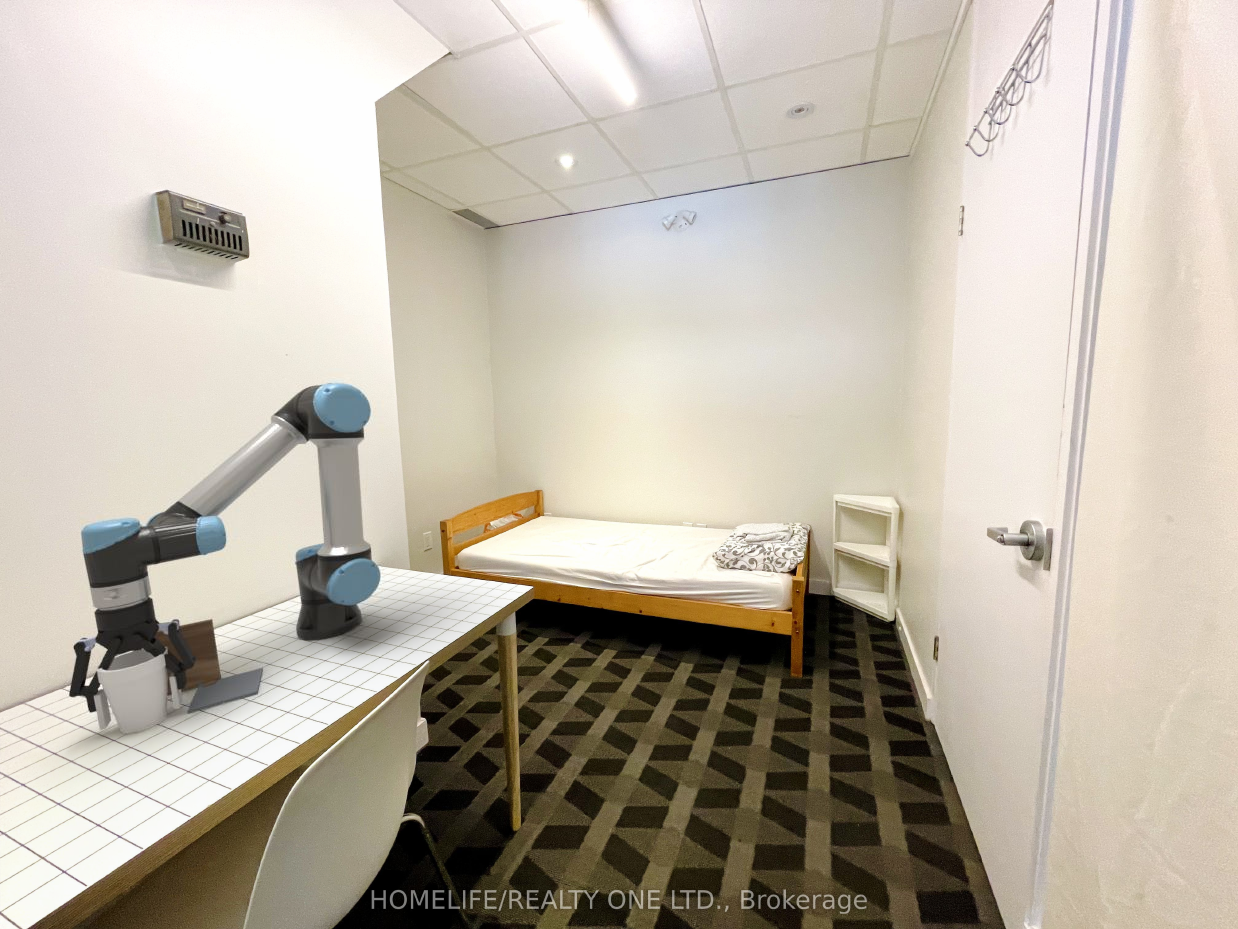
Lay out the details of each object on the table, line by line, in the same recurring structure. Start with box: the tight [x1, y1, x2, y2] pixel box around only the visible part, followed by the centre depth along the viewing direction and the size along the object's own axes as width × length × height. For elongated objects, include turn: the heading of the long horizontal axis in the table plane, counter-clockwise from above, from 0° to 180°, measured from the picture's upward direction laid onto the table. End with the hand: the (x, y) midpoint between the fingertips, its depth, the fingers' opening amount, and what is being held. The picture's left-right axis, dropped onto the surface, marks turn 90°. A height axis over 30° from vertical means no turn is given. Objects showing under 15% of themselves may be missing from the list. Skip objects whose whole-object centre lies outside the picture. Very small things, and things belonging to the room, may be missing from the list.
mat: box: [186, 667, 264, 714], centre depth 100 cm, size 11×11×1 cm
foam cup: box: [96, 647, 168, 735], centre depth 90 cm, size 10×9×13 cm
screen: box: [116, 618, 222, 697], centre depth 99 cm, size 5×16×14 cm, turn 122°
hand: (143, 714), depth 90 cm, fingers closed on foam cup, 9 cm apart
